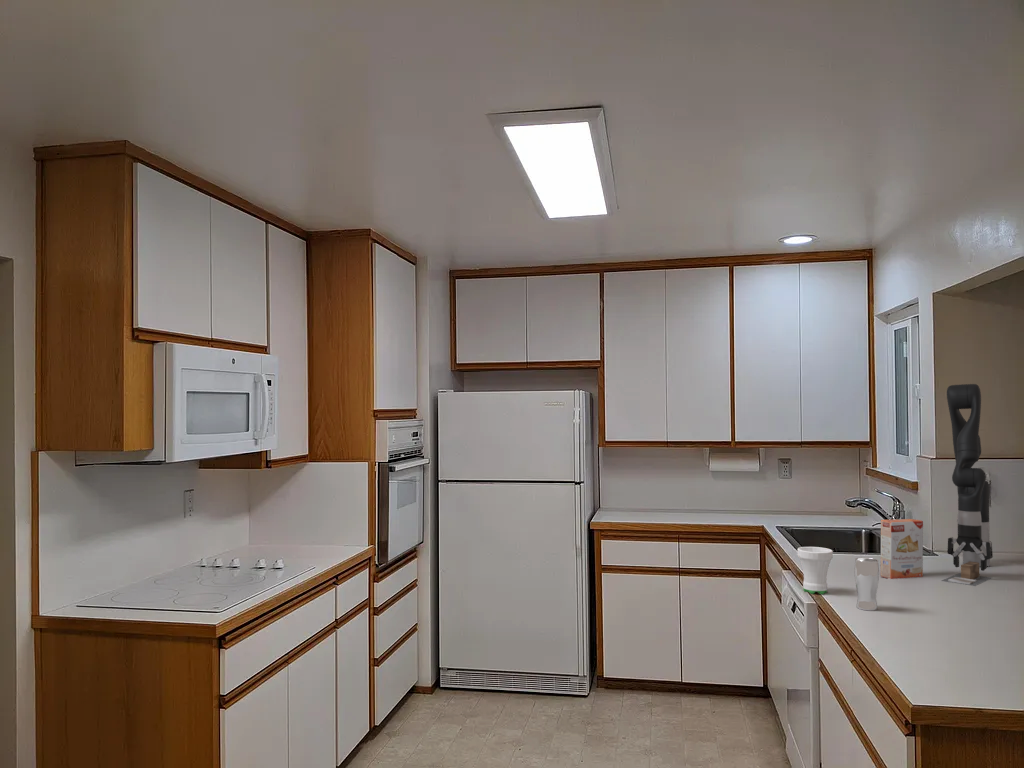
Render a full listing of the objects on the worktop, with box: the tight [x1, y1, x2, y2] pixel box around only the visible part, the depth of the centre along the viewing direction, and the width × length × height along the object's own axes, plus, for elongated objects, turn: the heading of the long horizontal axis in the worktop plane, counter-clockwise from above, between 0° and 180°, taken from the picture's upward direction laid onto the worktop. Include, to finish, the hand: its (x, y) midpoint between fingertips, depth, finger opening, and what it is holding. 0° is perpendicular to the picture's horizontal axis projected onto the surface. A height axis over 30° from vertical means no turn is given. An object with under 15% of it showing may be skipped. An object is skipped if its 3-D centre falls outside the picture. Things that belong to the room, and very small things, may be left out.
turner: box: [948, 561, 980, 585], centre depth 289 cm, size 17×7×5 cm, turn 134°
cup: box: [797, 546, 834, 595], centre depth 271 cm, size 11×11×14 cm
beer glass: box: [854, 557, 880, 612], centre depth 250 cm, size 7×7×15 cm
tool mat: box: [941, 572, 992, 587], centre depth 289 cm, size 19×11×1 cm, turn 134°
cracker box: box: [880, 518, 924, 580], centre depth 294 cm, size 14×6×21 cm, turn 105°
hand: (969, 568), depth 291 cm, fingers open, 8 cm apart
